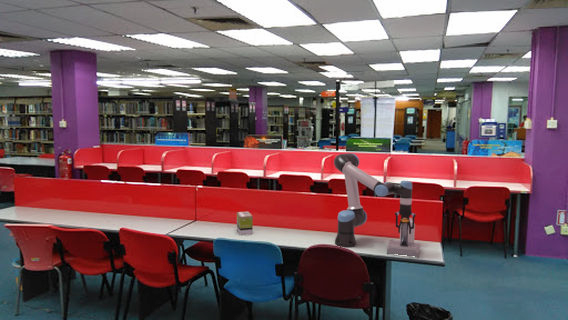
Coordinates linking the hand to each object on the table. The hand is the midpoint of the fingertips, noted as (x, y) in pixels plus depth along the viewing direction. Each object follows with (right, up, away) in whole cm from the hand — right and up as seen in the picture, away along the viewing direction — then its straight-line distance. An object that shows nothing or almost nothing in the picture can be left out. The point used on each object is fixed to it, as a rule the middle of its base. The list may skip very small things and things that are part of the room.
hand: (404, 238), depth 261 cm
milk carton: (+7, -8, +18) cm, 21 cm away
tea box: (-112, -4, +43) cm, 121 cm away
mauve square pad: (0, -9, +1) cm, 9 cm away
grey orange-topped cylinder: (0, -4, 0) cm, 4 cm away
